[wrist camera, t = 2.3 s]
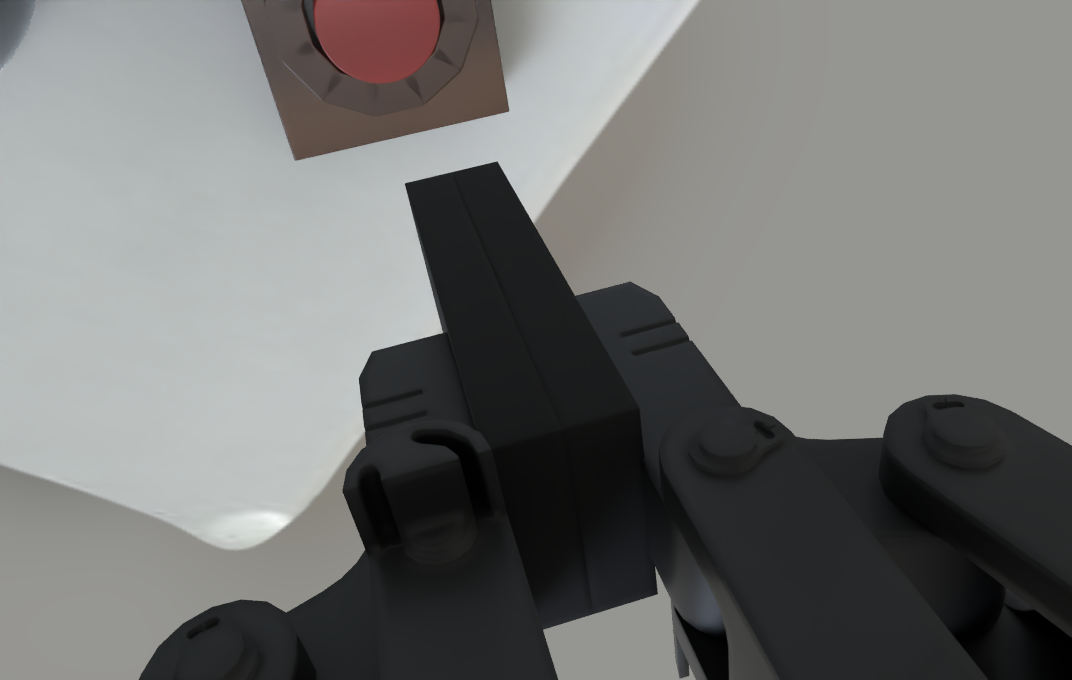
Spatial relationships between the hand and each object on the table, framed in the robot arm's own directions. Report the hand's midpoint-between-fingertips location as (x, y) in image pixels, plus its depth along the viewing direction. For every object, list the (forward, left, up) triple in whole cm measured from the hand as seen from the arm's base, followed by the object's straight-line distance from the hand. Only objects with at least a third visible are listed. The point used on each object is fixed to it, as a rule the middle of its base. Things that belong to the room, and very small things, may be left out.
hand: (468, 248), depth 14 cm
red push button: (0, 0, -18) cm, 18 cm away
